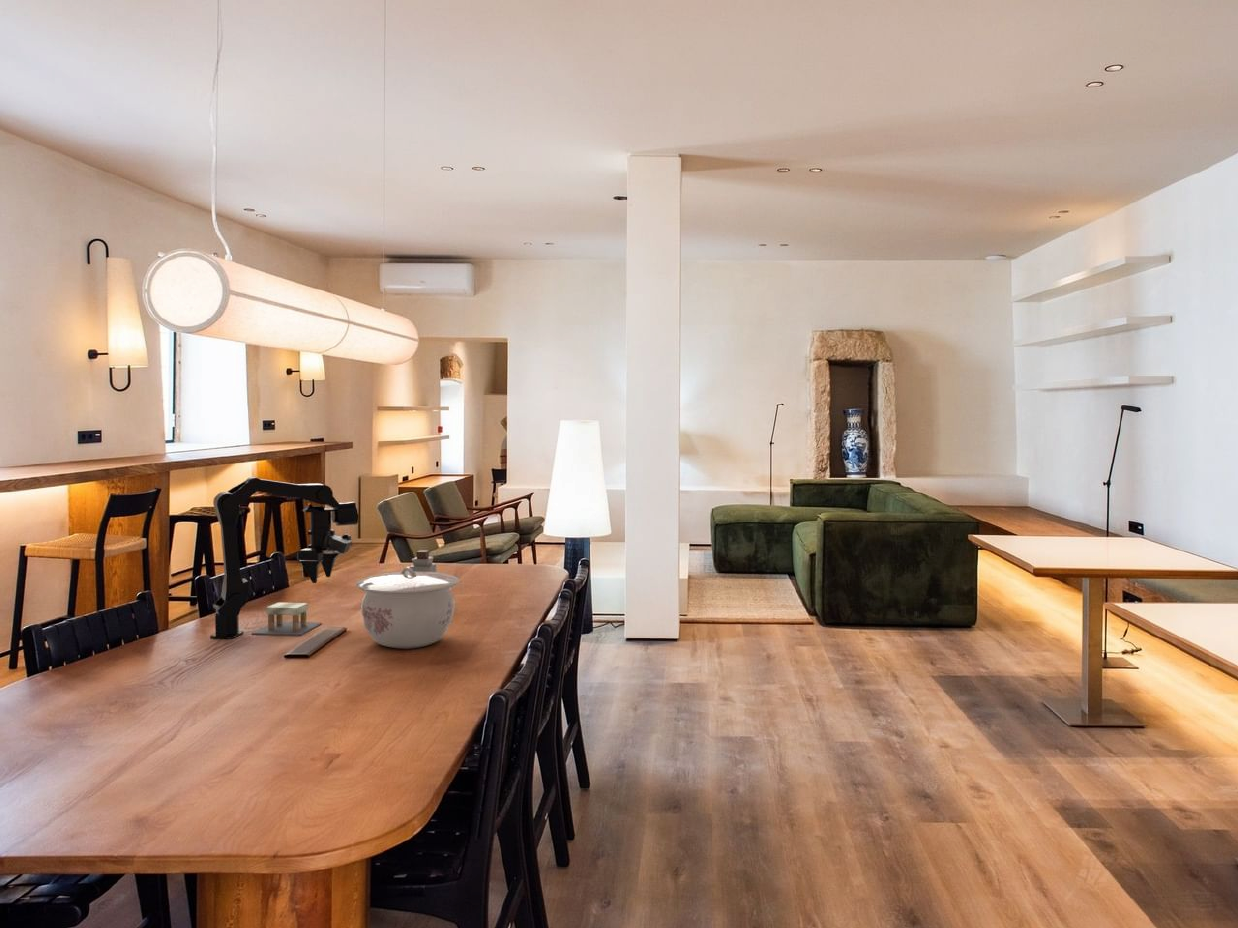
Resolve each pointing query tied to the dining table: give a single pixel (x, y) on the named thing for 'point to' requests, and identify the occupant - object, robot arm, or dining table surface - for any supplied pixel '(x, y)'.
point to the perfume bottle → (423, 562)
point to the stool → (287, 609)
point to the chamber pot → (407, 607)
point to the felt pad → (287, 629)
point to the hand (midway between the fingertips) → (321, 579)
